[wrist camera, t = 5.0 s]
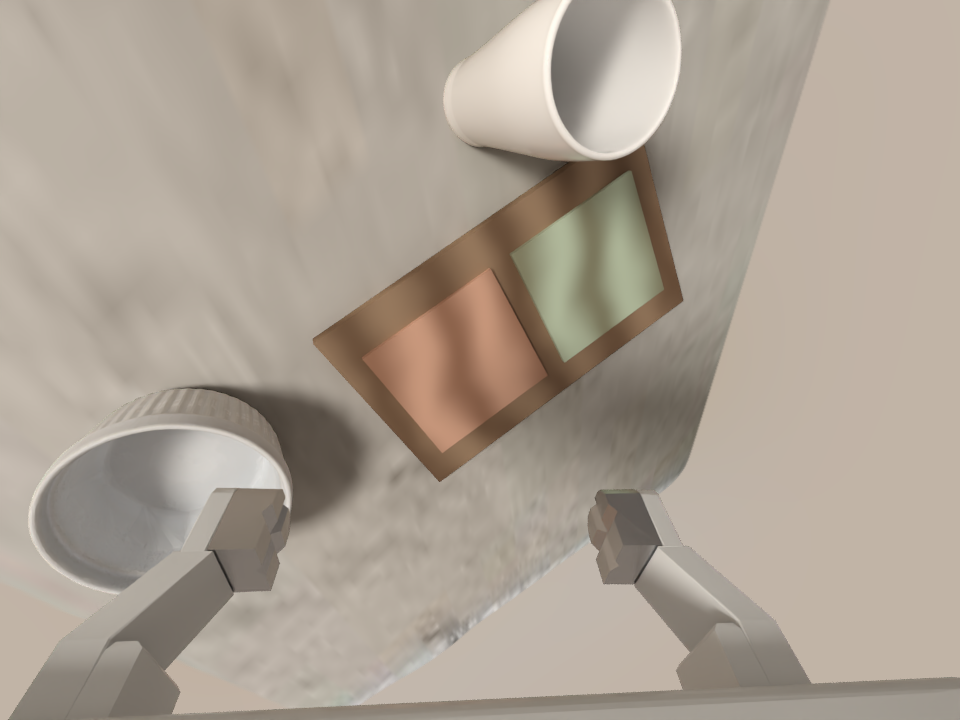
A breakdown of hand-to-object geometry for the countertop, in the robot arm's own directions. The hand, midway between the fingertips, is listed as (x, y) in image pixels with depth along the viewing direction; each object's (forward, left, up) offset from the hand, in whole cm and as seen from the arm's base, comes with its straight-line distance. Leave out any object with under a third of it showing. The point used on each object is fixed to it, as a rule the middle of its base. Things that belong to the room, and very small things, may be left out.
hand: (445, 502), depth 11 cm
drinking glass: (-15, -5, -24) cm, 28 cm away
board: (-11, +11, -24) cm, 28 cm away
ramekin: (+16, +4, -24) cm, 29 cm away
